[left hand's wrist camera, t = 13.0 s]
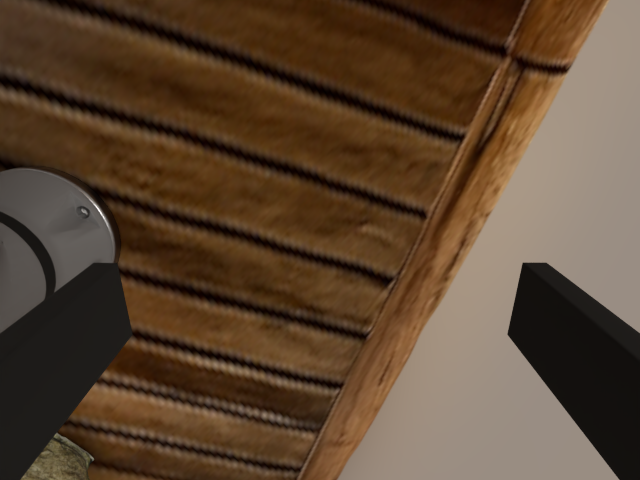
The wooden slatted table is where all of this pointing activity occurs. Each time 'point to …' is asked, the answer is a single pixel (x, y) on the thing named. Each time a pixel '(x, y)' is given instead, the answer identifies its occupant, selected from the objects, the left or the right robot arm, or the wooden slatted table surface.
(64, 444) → the fossil
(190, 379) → the wooden slatted table surface
